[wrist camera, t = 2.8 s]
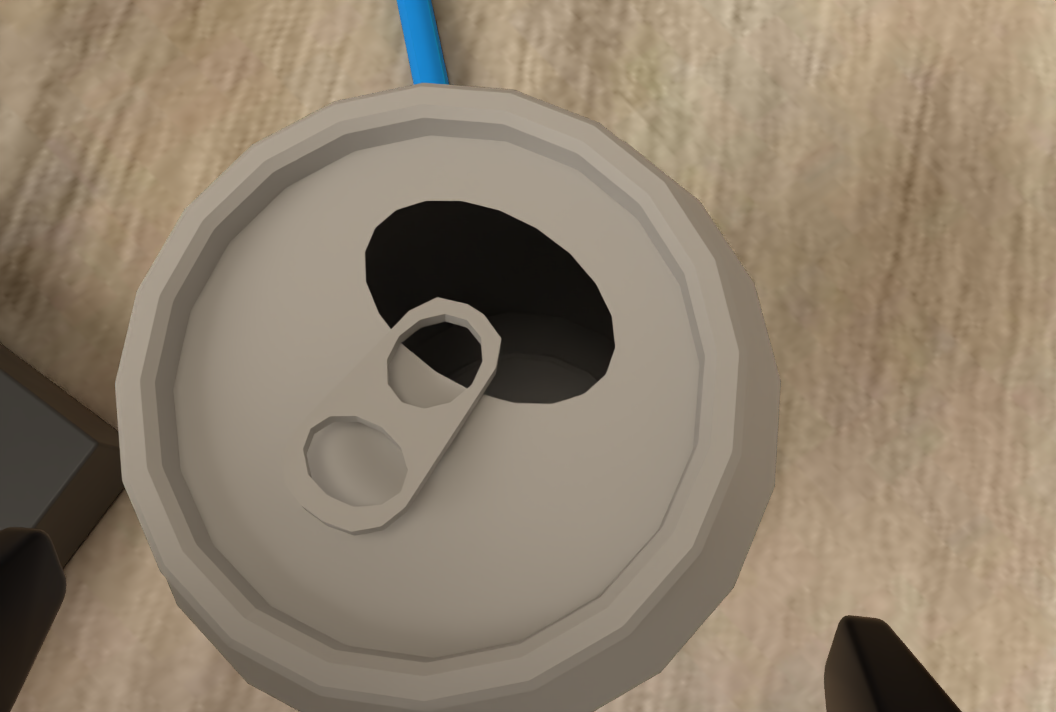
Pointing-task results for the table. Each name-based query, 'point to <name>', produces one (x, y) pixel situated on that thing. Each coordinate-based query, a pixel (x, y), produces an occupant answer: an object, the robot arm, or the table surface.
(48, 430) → the scale
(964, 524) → the table surface
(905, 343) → the table surface
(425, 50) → the pen
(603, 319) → the can
